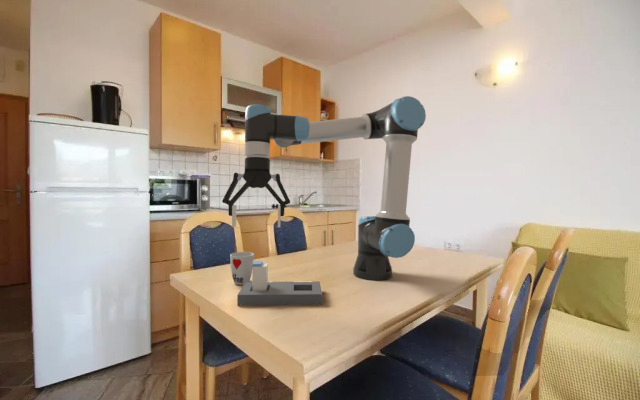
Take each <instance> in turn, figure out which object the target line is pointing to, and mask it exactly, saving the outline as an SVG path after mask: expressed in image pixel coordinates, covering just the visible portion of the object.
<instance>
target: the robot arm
mask: <svg viewBox="0 0 640 400" xmlns="http://www.w3.org/2000/svg"><path fill="white" fill-rule="evenodd" d="M244 118H245V119H244V156H245V158H244V172H243V173H238V172H234V173H233V177H232V181H231V183H230V185H229V187H228V189H227V190H226V193H225V194H224V197H223V198H222V201H221V203H223V204H226V205H227V206H228V216H230V217H231V228H235V227H237V205H236V204H235V203H237V201H238V200H239V199H240V198H241V197H242V196H243V194H244V193H245V192H247V190H248V189H249V188H252V189H255V188H258V189H263V188H266V189H267V191H268V192H269V193H270V194H271V195H272V197H273V198H274V199H275V201H277V203H278V204H279V205H278V206H277V228H281V222H282V221H281V218H282V217H284V216H285V206H286V205H289V204H291V200H290V198H289V196H288V194H287V192H286V189H285V188H284V185H283V183H282V181H281V175H280V173H276V174H275V173H274V174H271V172H270V171H271V159H270V157H271V140H273V142H274V144H275V145H276V146H277V147H279V148H288V147H291V146H297V145H305V144H314V143H323V142H332V141H341V140H349V139H359V138H362V139H364V140H374V139H375V140H376V139H382V140H383V141H384V142H385V143H386V146H385V153H384V154H385V156H384V167H383V177H382V178H383V179H382V190H381V200H380V201H381V202H380V203H381V204H380V211H379V212H378V213H377V214H375V215H374V216H373V215H371V216H360V218H359V219H358V225H357V228H358V229H357V231H358V232H357V233H358V234H357V237H358V238H357V239H358V240H357V242H358V245H357V256H356V260H355V263H354V265H353V268H352V270H353V273H352V274H353V275H354V276H355V277H357V278H360V279H364V280H372V281H383V280H388V279H391V278H392V277H393V267H392V265H391V262H390V258H393V259H394V258H395V259H398V258H403V257H404V256H406V255H407V254H409V253H410V252H411V251H412V249H413V247H414V245H415V242H416V241H415V240H416V239H415V237H416V236H415V232H414V231H413V229H412V228H411V227H410V222H411V218H410V217H409V216H408V215H407V203H408V194H409V184H410V183H409V181H410V170H411V158H412V148H413V147H412V146H413V144H414V143H415V142H416V141H417V140H418V131H419V130H420V129H421V128H422V126H424V124H425V122H426V118H427V115H426V109H425V106H424V105H423V104H422V103H421V102H420V100H419V99H417V98H416V97H414V96H410V95H409V96H407V95H406V96H402V97H400V98H396V99H395V100H393V102H391V103H389V104H387V105H386V106H383V107H382V108H380V109H378V110H376V111H373V112H369V113H363V114H362V115H361V116H357V117H345V118H338V119H337V118H336V119H327V120H325V119H324V120H318V121H317V120H315V121H310V120H309V118H307V116H306V117H305V116H299V115H286V114H275V113H272V112H271V108H270V107H269V106H268V105H265V104H264V105H263V104H255V103H253V104H250V105H249V104H248V106H247V107H246V108H245V116H244ZM242 178H243V180H244V181H245V182H244V184H242V186H241V188H240V189H239V190H238V191H237V192H236V193H235V195H233V197H232V198H231V196H232V194H233V193H234V191H235V189H236V187H237V185H238V183H239V181H241V180H242ZM271 179H272V180H273V181H274V182H276V185H277V186H278V189H279V191H280V193H281V194H282V197H283V199H284V200H283V199H282V198H281V197H280V195H279V194H277V192H276V191H275V190H274V188H273V187H272V186H271V185H270V183H269V182H270V181H271Z"/></svg>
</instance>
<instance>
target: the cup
mask: <svg viewBox="0 0 640 400" xmlns="http://www.w3.org/2000/svg"><path fill="white" fill-rule="evenodd" d="M229 258H230V271H231V277H232V280H233V284H235V285H239V286H240V285H244V284H245V282H251V281H250V280H251V278H252V275H253V263H254V258H255V253H253V252H250V251H239V252H238V251H237V252H232V253H230V255H229Z"/></svg>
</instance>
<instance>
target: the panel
mask: <svg viewBox="0 0 640 400" xmlns="http://www.w3.org/2000/svg"><path fill="white" fill-rule="evenodd" d="M236 297H237V306H309V305H310V306H311V305H313V306H315V305H318V306H319V305H321V306H323V292H322V286H321V282H320V281H308V280H307V281H306V280H305V281H304V280H303V281H302V280H301V281H298V280H297V281H295V280H294V281H273V280H272V281H268V291H252V281H249V282H245V284H243V286H242V287H241V288H240V290H239V291H238V292H237V296H236Z"/></svg>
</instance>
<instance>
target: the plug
mask: <svg viewBox="0 0 640 400" xmlns="http://www.w3.org/2000/svg"><path fill="white" fill-rule="evenodd" d="M268 264H269V263H268V262H267V263H264V261H263V260H253V268H252V276H251V278H252V279H251V280H252V281H251V282H252V291H268V282H269V281H268V277H269V275H268V274H269V273H268V271H269V265H268Z"/></svg>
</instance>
